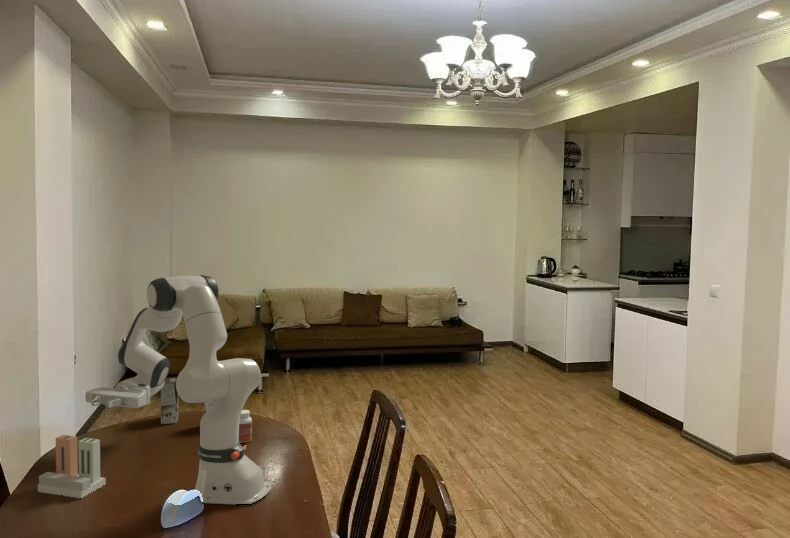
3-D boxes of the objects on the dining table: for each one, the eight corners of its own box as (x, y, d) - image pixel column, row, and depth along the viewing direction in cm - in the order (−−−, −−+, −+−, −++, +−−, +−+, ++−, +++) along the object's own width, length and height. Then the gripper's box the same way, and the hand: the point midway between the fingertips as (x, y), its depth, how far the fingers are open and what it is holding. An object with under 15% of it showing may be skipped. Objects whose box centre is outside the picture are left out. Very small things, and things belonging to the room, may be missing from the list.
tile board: (105, 484, 188) (105, 469, 188) (81, 498, 179) (81, 483, 178) (63, 478, 192) (63, 463, 192) (37, 491, 182) (37, 476, 182)
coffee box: (178, 423, 244) (177, 382, 243) (160, 424, 242) (160, 383, 241) (178, 415, 253) (178, 376, 251) (161, 416, 251) (161, 377, 249)
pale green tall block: (100, 478, 188) (99, 439, 187) (92, 482, 184) (92, 443, 183) (86, 476, 189) (85, 437, 188) (78, 480, 186) (77, 441, 185)
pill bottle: (254, 442, 226) (254, 412, 225) (237, 445, 223) (237, 415, 222) (248, 437, 231) (248, 408, 230) (231, 440, 228) (232, 410, 227)
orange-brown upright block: (77, 475, 189) (77, 436, 188) (69, 479, 186) (69, 440, 185) (63, 473, 191) (63, 434, 190) (55, 477, 188) (55, 438, 186)
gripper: (101, 380, 217) (72, 391, 203) (153, 386, 212) (127, 397, 199) (102, 398, 217) (72, 410, 204) (153, 404, 212) (127, 417, 199)
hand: (100, 404), depth 201 cm, fingers open, 4 cm apart
